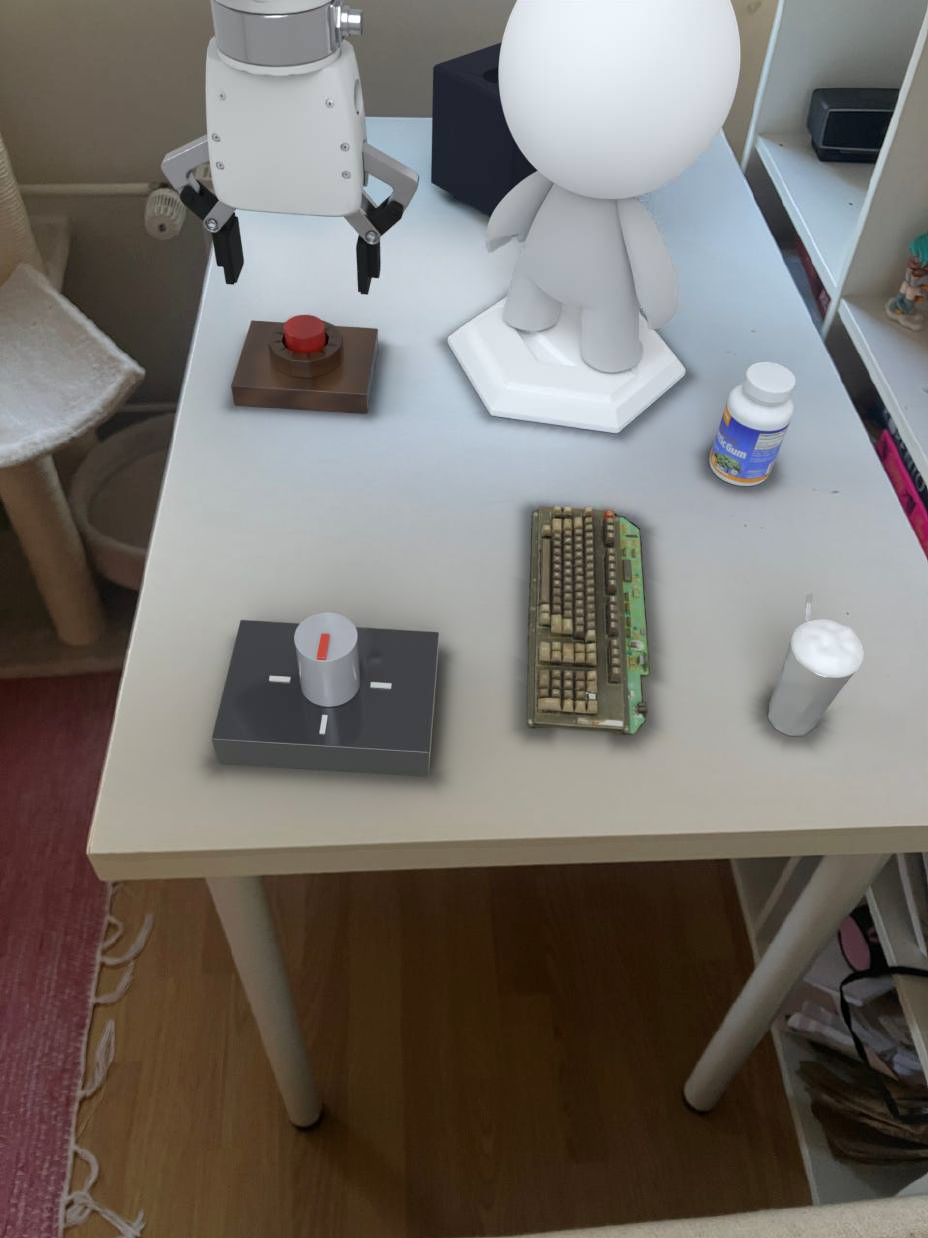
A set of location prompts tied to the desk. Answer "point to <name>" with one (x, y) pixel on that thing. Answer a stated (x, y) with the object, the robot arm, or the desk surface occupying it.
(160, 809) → the desk surface
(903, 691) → the desk surface
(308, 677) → the hob knob
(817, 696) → the milkshake
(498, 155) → the speaker
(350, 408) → the switch block
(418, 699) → the panel
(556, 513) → the keyboard
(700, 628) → the desk surface
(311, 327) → the button
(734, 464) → the pill bottle
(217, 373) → the desk surface
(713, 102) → the white cartoon figure
